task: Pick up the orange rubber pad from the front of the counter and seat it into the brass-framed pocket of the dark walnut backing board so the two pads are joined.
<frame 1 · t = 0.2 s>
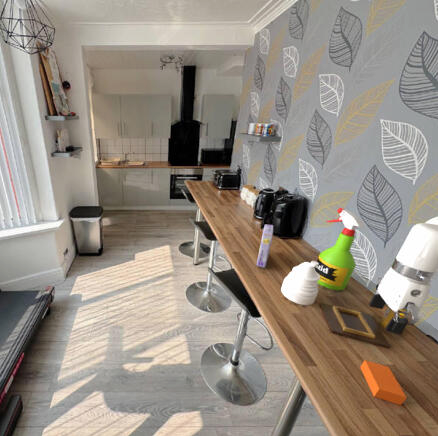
hand: (383, 318, 68), 19 cm above the table, tool pointing down, fingers open, 9 cm apart
spray bottle: (323, 278, 115), on the table
honey pot: (297, 294, 104), on the table
condiment: (386, 326, 90), on the table, touching backing board
backing board: (350, 324, 89), on the table
pad: (379, 385, 69), on the table
cake pan box: (261, 259, 129), on the table
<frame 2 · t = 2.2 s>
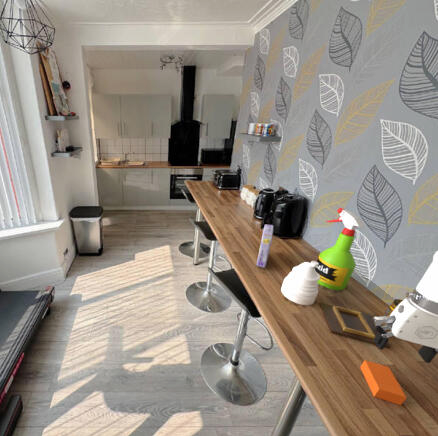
hand: (399, 351, 63), 14 cm above the table, tool pointing down, fingers open, 9 cm apart
nothing on the table moved.
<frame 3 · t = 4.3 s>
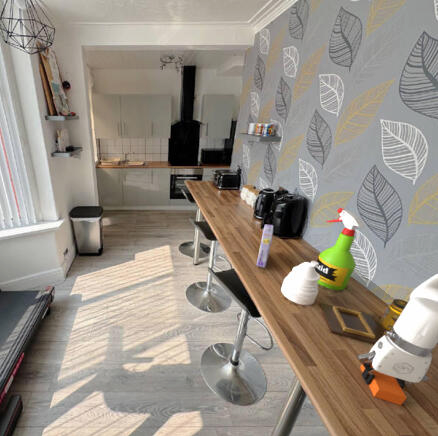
hand: (379, 383, 69), 1 cm above the table, tool pointing down, fingers closed on pad, 6 cm apart
pad: (379, 385, 69), on the table, touching gripper
everything else where it was.
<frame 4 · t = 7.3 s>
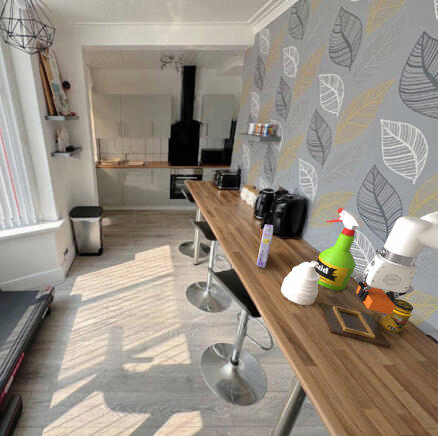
hand: (373, 301, 79), 15 cm above the table, tool pointing down, fingers closed on pad, 6 cm apart
pad: (372, 302, 79), point 15 cm above the table, touching gripper
everything else where it was.
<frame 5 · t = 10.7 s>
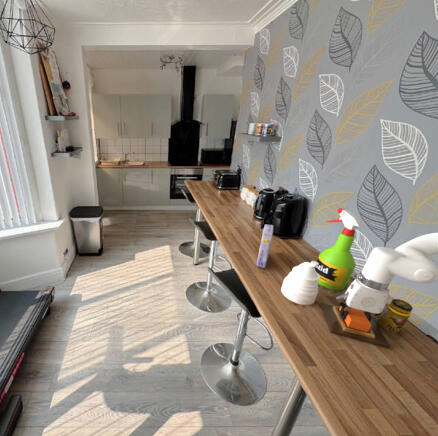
hand: (353, 319, 88), 3 cm above the table, tool pointing down, fingers closed on pad, 6 cm apart
pad: (352, 320, 88), point 2 cm above the table, touching gripper
everything else where it was.
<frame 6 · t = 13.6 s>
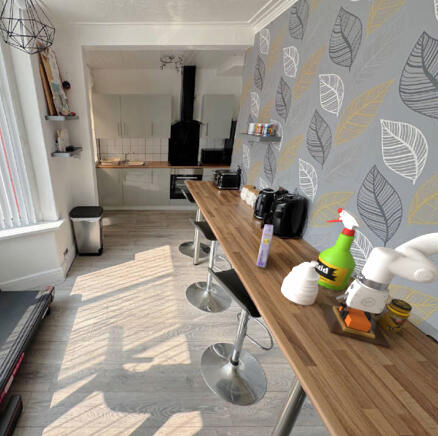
hand: (353, 319, 88), 3 cm above the table, tool pointing down, fingers closed on pad, 5 cm apart
pad: (352, 320, 88), point 2 cm above the table, touching gripper
everything else where it was.
when the fingers open (3 cm above the table, at t = 16.0 s): pad drops 1 cm, resting on backing board.
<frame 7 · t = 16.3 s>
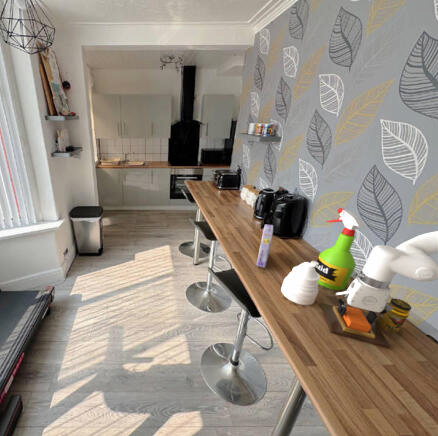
hand: (354, 317, 88), 4 cm above the table, tool pointing down, fingers open, 8 cm apart
pad: (352, 322, 89), point 1 cm above the table, touching backing board
everything else where it was.
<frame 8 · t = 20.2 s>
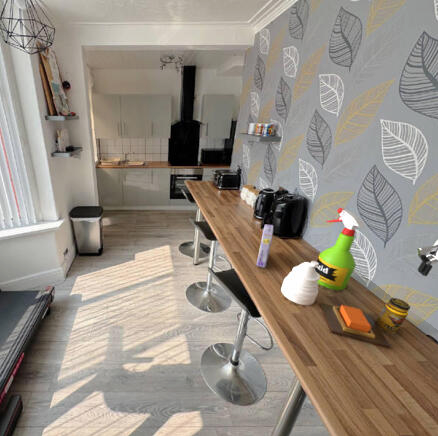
at the end: pad 0.1 cm off-centre on the backing board, point 1.2 cm above the backing board's base; pad tilted 0°; the gripper is holding nothing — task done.
